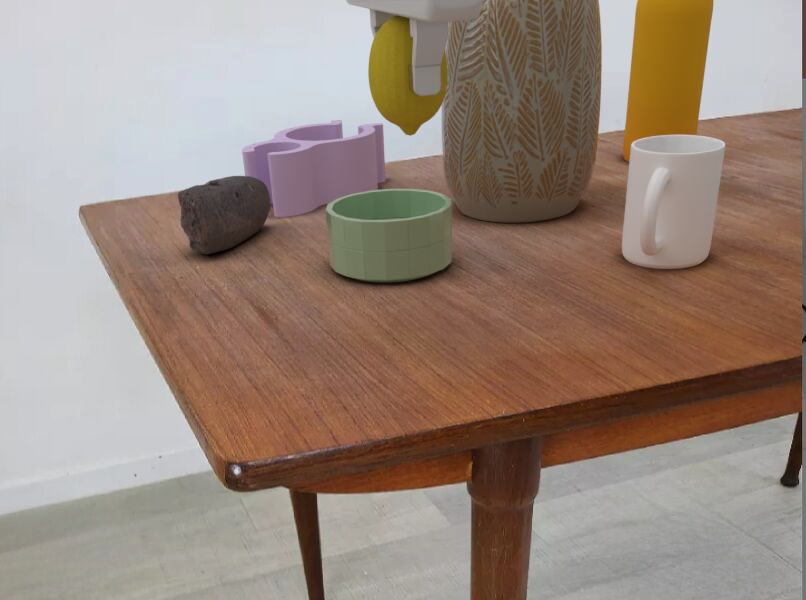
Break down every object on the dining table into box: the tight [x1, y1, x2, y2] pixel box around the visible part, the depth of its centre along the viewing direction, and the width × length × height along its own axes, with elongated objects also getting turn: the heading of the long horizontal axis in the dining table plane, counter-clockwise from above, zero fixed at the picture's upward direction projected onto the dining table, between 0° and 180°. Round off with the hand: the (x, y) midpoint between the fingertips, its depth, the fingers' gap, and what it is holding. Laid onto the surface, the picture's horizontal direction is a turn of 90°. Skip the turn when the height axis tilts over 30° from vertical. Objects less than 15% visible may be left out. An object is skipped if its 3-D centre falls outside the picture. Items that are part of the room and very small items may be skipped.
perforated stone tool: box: [177, 175, 271, 255], centre depth 101 cm, size 15×5×7 cm, turn 151°
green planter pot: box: [325, 188, 453, 283], centre depth 92 cm, size 12×12×6 cm
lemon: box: [367, 15, 448, 136], centre depth 66 cm, size 6×6×8 cm
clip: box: [241, 119, 386, 218], centre depth 117 cm, size 20×12×7 cm, turn 145°
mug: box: [621, 134, 726, 270], centre depth 87 cm, size 12×8×10 cm
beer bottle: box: [622, 0, 714, 163], centre depth 117 cm, size 9×9×29 cm
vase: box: [441, 0, 603, 224], centre depth 101 cm, size 17×17×27 cm
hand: (408, 87), depth 66 cm, fingers closed on lemon, 5 cm apart
